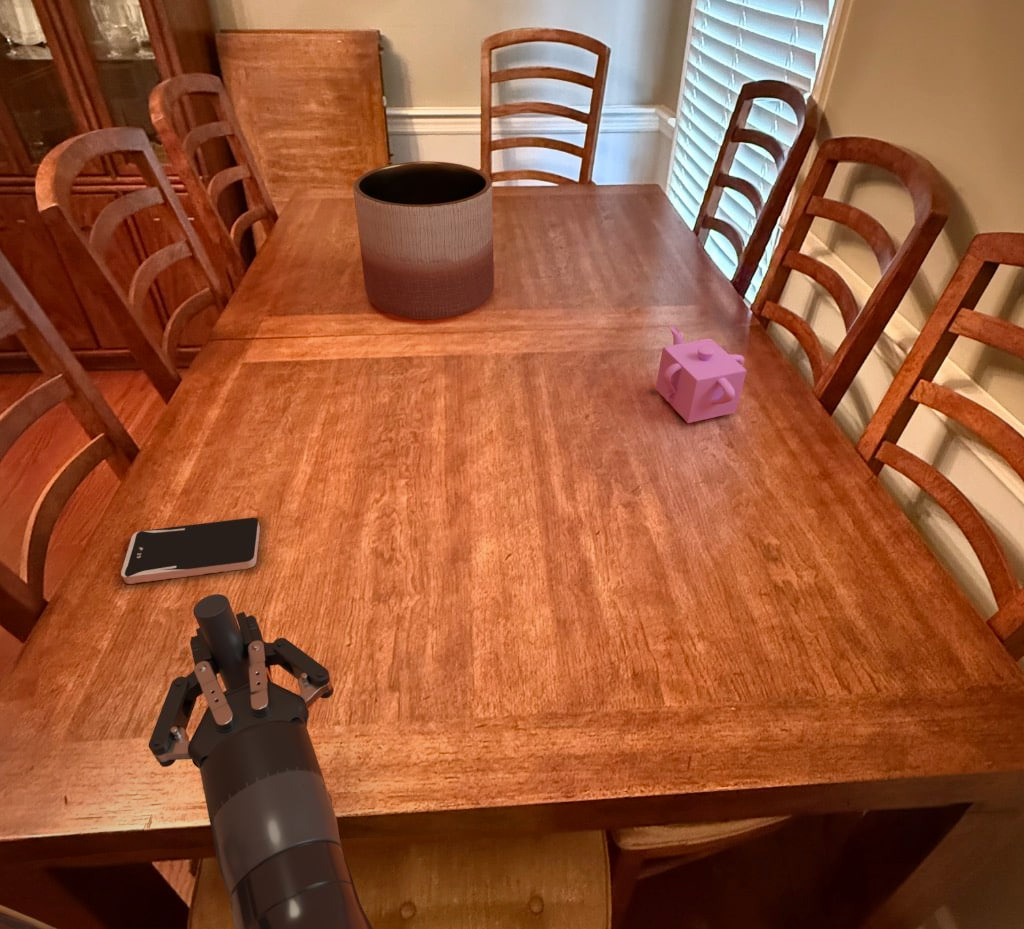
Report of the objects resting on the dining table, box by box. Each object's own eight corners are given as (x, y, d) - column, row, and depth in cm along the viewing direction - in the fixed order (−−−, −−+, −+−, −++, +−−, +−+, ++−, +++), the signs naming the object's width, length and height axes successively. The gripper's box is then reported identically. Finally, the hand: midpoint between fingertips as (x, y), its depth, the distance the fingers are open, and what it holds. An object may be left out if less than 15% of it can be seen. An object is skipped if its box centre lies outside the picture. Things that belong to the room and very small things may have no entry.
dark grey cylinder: (252, 723, 59) (210, 621, 52) (229, 713, 60) (185, 612, 53) (273, 700, 60) (235, 599, 54) (251, 690, 62) (211, 590, 55)
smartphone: (253, 560, 83) (119, 578, 81) (256, 568, 84) (123, 585, 81) (258, 516, 89) (133, 531, 86) (260, 524, 90) (136, 539, 87)
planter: (360, 274, 146) (345, 165, 132) (478, 262, 151) (475, 156, 137) (374, 333, 127) (358, 212, 113) (508, 316, 133) (509, 200, 118)
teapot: (629, 380, 116) (637, 326, 110) (701, 365, 120) (713, 312, 113) (685, 443, 103) (698, 386, 97) (764, 424, 107) (781, 368, 100)
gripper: (363, 737, 47) (296, 566, 59) (141, 839, 42) (116, 630, 54) (376, 788, 52) (312, 621, 64) (179, 886, 47) (148, 685, 58)
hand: (222, 626), depth 59 cm, fingers closed on dark grey cylinder, 2 cm apart
